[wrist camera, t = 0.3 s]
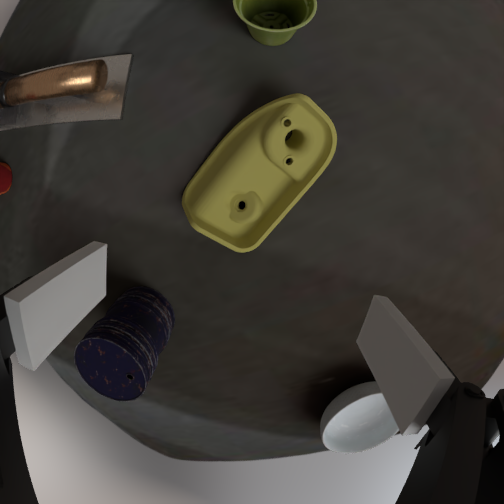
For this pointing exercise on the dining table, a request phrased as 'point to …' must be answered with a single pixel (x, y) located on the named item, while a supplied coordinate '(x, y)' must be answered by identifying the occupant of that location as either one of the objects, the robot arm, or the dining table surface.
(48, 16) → the dining table surface
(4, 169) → the paper cup
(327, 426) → the cereal bowl
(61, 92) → the copper tube
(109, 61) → the rail
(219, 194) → the plastic component
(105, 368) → the storage jar
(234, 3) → the plant pot
